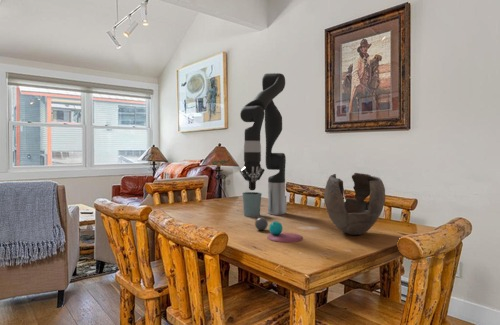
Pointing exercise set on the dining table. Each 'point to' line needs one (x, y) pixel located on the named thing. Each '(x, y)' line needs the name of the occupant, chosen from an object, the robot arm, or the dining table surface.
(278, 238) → the plum mark
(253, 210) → the drinking glass
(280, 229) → the teal ball
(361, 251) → the dining table surface
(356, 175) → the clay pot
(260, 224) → the gray ball
